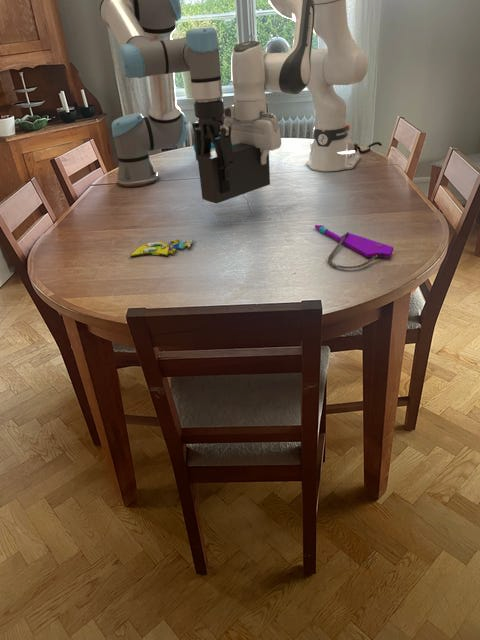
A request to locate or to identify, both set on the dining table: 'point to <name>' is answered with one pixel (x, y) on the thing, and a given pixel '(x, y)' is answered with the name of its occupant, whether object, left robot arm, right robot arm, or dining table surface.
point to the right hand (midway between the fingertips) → (253, 161)
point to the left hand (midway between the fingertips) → (217, 189)
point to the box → (233, 173)
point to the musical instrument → (358, 246)
